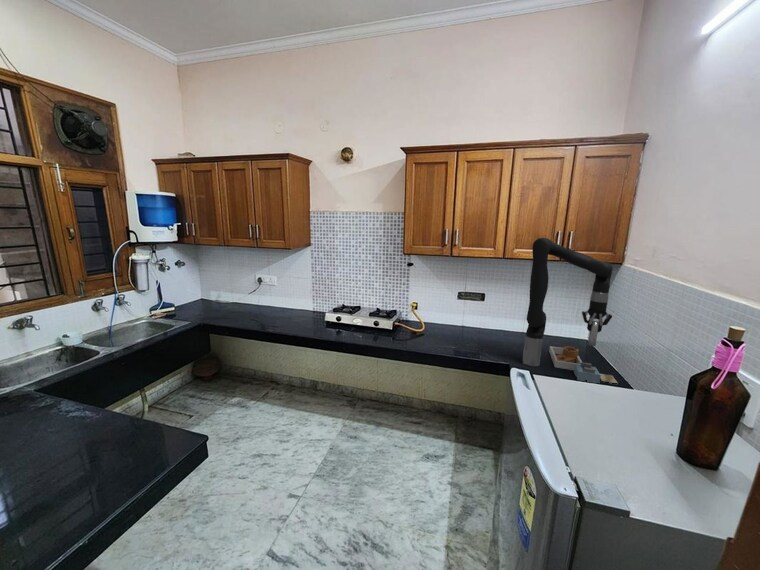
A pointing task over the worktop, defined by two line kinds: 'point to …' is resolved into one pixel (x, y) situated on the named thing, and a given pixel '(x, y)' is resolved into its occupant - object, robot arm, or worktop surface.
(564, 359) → the bracket
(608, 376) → the rest board
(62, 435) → the worktop surface
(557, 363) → the frame
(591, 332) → the steel pin
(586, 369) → the vise block
